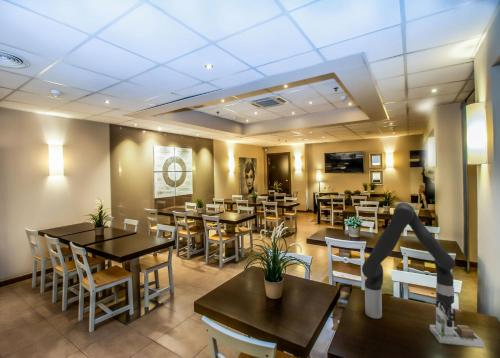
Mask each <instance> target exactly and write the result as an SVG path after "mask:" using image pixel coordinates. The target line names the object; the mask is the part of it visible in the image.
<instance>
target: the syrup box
mask: <svg viewBox="0 0 500 358" xmlns="http://www.w3.org/2000/svg"><path fill="white" fill-rule="evenodd" d="M446 313H448V312H446ZM448 317H449V316H448ZM454 324H455V321H452V327H448V326H447V318H446V315H445V314H444V311H443V310H442V309H441V307H440V308H439V307H435V325H436V330H437V331H438V332H439V334H440V335H443V336H453V337H454V327H455V325H454Z"/></svg>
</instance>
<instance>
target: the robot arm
mask: <svg viewBox="0 0 500 358" xmlns="http://www.w3.org/2000/svg"><path fill="white" fill-rule="evenodd" d="M408 225H409V227H410V229H411V230H412V231H413V233H414V234H415V236H416V239H417V240H418V242H419V243H420V244H421V245H422V247H423V248H424V250H426V251H427V252H428V254H430V255H431V256H432V258H433V259H434V265H435V267H434V268H435V271H436V286H435V289H436V290H435V308H438V307H439V308H440V307H441V309H442V310H443V311H444V314H445V315H446V318H447V326H448V327H452V321H454V322H456V310H455V308H452V304H454V303H455V287H454V275H453V273H452V271H451V270H454V269H455V267H456V261H455V260H454V258H453V257H452V256H451V255H450V254H449V253H448V251H446V249H444V248H443V246H442V245H441V244H440V242H439V241H438V240H437V239H436V238H435V237H434V236H433V234H432V233H431V232H430V231H429V229H427V227H426V226H425V225H424V223H423V222H422V221H421V219H420V218H419V217H418V214H417V212H416V211H415V209H414V207H413V206H412V205H411V204H409V203H407V202H400V203H398V204H396V206H395V207H394V210H393V214H392V217H391V218H390V221H389V223H388V225H387V227H386V228H385V229H384V230H383V232H382V233H381V234H380V235H379V237H378V238H377V241H376V243H375V244H374V247H373V248H372V251H371V252H370V255H369V256H368V257H367V259H366V260H365V261H364V263H362V266H361V272H362V274H363V276H364V277H366V278H367V279H366V280H365V282H364V302H365V303H364V305H365V306H364V307H365V310H364V311H365V315H366V316H367V317H368V318H371V319H381V318H382V317H383V316H382V315H383V311H382V310H383V305H382V302H383V301H382V299H383V298H382V297H383V296H382V286H383V282H384V267H383V265H382V262H384V260H386V259H387V258H388V257H389V256H390V255H391V254H392V252H393V251H394V250H395V248H396V247H397V244H398V243H399V240H400V238H401V236H402V234H403V232H404V230H405V229H406V228H407V226H408ZM446 312H448V313H446ZM448 316H449V317H448Z"/></svg>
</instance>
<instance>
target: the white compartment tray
mask: <svg viewBox="0 0 500 358" xmlns="http://www.w3.org/2000/svg"><path fill="white" fill-rule="evenodd" d="M429 331H430V332H431V333H432V335H434V337H435V338H436V340H437V341H438V342H439V344H447V345H455V346H456V345H457V346H464V347H472V348H473V347H474V348H481V349H482V348H483V349H484V347H485V346H484V341H483V340H482V339H481V338H480V337H479V336H478V335H477V334H476V333H475V332H474V339H472V338H462V337H460V336H459V335H458V334H457V326H454V337H453V336H443V335H440V334H439V332H438V331H437V330H436V324H429Z"/></svg>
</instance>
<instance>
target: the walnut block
mask: <svg viewBox="0 0 500 358" xmlns="http://www.w3.org/2000/svg"><path fill="white" fill-rule="evenodd" d="M456 327H457V334H458V335H459V336H460V337H462V338H472V339H474V333H475V331H474V330H473V329H471V327H469V326H468V325H461V324H456Z"/></svg>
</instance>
